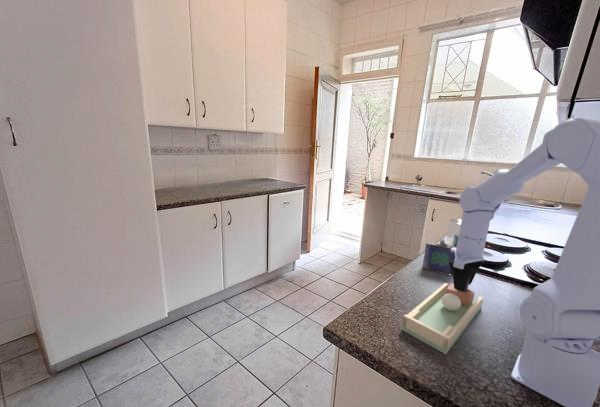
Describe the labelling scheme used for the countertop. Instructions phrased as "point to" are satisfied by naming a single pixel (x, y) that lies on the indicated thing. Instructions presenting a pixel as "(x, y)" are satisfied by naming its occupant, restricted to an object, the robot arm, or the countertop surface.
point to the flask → (438, 257)
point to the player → (462, 294)
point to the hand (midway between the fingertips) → (462, 286)
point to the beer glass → (453, 232)
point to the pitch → (439, 320)
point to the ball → (451, 302)
